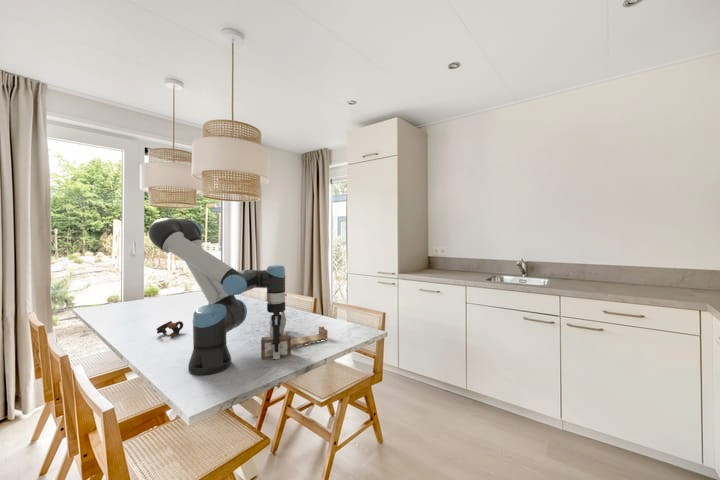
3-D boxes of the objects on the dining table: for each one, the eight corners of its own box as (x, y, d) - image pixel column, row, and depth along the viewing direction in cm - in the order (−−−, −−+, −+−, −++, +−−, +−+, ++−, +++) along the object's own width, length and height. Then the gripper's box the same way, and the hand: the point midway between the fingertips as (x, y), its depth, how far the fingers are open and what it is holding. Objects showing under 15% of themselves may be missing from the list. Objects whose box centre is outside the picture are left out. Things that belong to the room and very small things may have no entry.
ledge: (288, 349, 140) (288, 336, 139) (282, 344, 145) (282, 332, 145) (327, 340, 151) (327, 328, 151) (320, 336, 157) (320, 325, 156)
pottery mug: (167, 341, 151) (158, 326, 151) (159, 345, 156) (151, 331, 156) (189, 328, 161) (181, 314, 161) (182, 333, 166) (174, 319, 166)
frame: (261, 359, 128) (261, 340, 128) (261, 355, 132) (261, 337, 132) (290, 356, 131) (290, 338, 131) (290, 353, 135) (290, 335, 135)
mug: (265, 336, 157) (265, 312, 157) (279, 329, 168) (279, 307, 168) (278, 337, 154) (278, 313, 154) (291, 330, 166) (291, 308, 165)
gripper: (285, 306, 123) (286, 364, 123) (285, 296, 142) (285, 346, 142) (265, 308, 121) (266, 366, 121) (268, 297, 140) (268, 347, 141)
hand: (276, 355), depth 132 cm, fingers open, 7 cm apart
